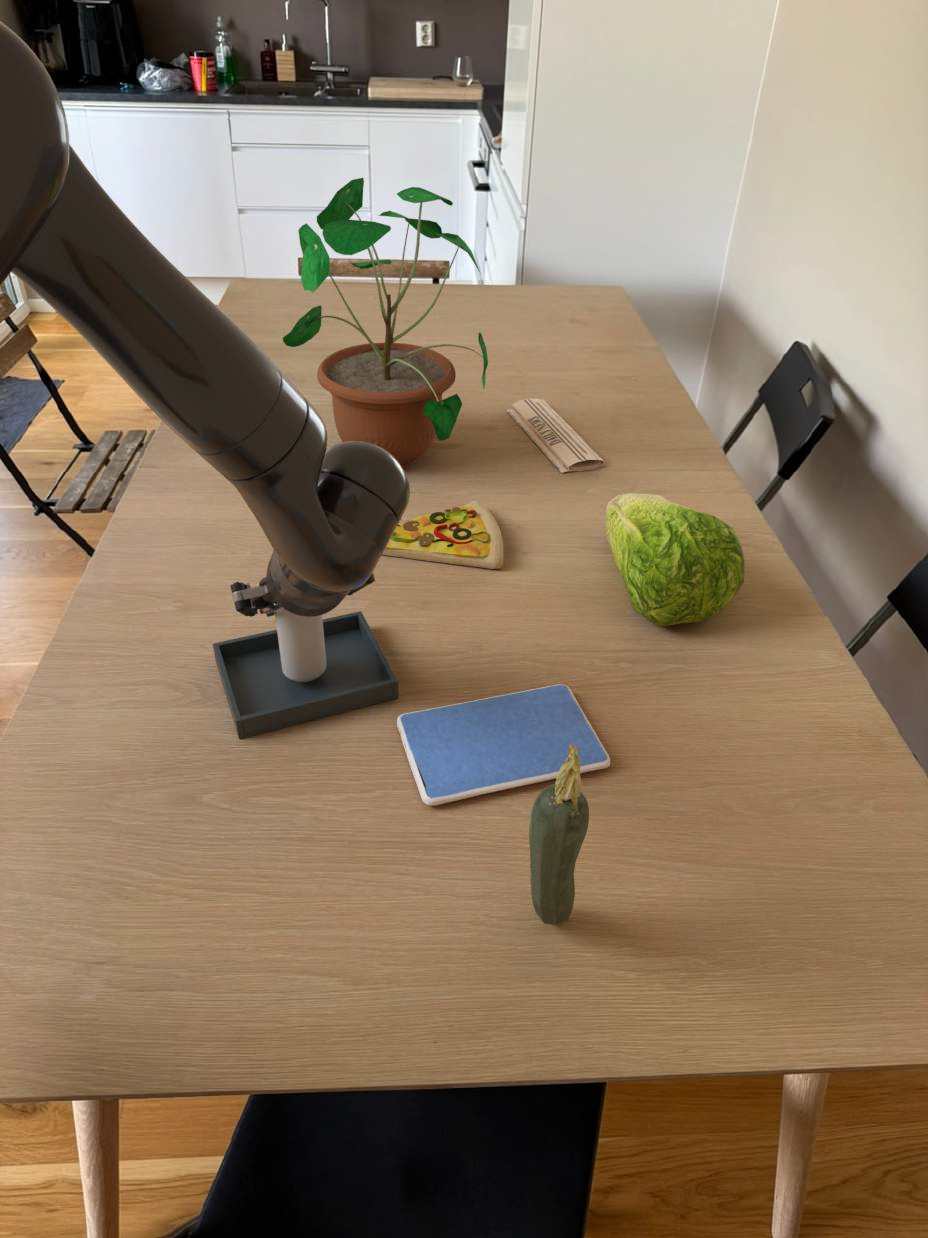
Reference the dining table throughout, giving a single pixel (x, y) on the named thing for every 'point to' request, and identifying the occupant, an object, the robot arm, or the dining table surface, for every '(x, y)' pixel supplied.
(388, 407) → the potted plant
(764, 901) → the dining table surface
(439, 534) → the pizza slice
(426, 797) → the tablet
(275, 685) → the serving tray
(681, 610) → the lettuce
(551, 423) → the newspaper
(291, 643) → the beverage can
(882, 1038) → the dining table surface
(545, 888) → the vegetable
